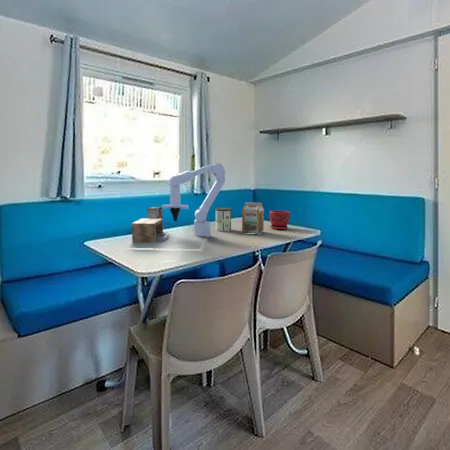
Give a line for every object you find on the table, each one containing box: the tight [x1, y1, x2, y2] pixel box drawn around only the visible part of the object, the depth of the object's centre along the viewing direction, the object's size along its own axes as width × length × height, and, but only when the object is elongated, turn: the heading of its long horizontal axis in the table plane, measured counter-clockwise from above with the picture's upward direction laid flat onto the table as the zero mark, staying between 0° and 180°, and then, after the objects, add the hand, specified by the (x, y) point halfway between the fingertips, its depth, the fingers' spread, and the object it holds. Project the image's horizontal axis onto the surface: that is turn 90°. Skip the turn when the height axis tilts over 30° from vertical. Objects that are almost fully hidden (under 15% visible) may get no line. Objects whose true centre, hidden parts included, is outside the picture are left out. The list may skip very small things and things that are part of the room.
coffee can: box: [215, 207, 232, 232], centre depth 221 cm, size 10×10×14 cm
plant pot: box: [269, 210, 291, 230], centre depth 227 cm, size 13×13×12 cm
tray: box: [156, 233, 169, 242], centre depth 187 cm, size 12×9×3 cm
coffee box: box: [146, 206, 164, 220], centre depth 205 cm, size 9×6×16 cm
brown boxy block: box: [131, 217, 164, 244], centre depth 187 cm, size 12×18×11 cm, turn 177°
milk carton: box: [241, 201, 265, 235], centre depth 211 cm, size 11×11×19 cm
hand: (175, 221), depth 196 cm, fingers closed
